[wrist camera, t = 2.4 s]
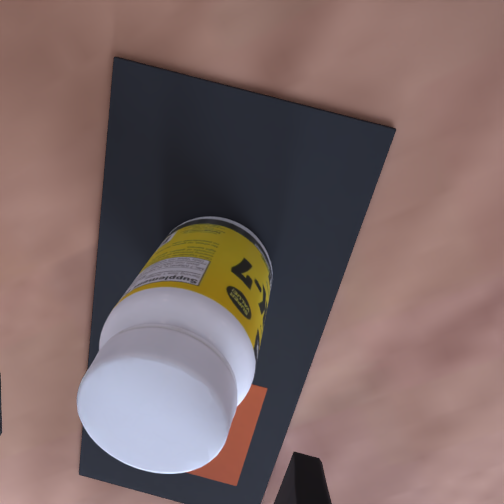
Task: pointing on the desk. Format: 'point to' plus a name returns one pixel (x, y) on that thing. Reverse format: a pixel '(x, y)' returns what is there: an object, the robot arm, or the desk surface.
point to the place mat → (245, 213)
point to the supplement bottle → (180, 349)
